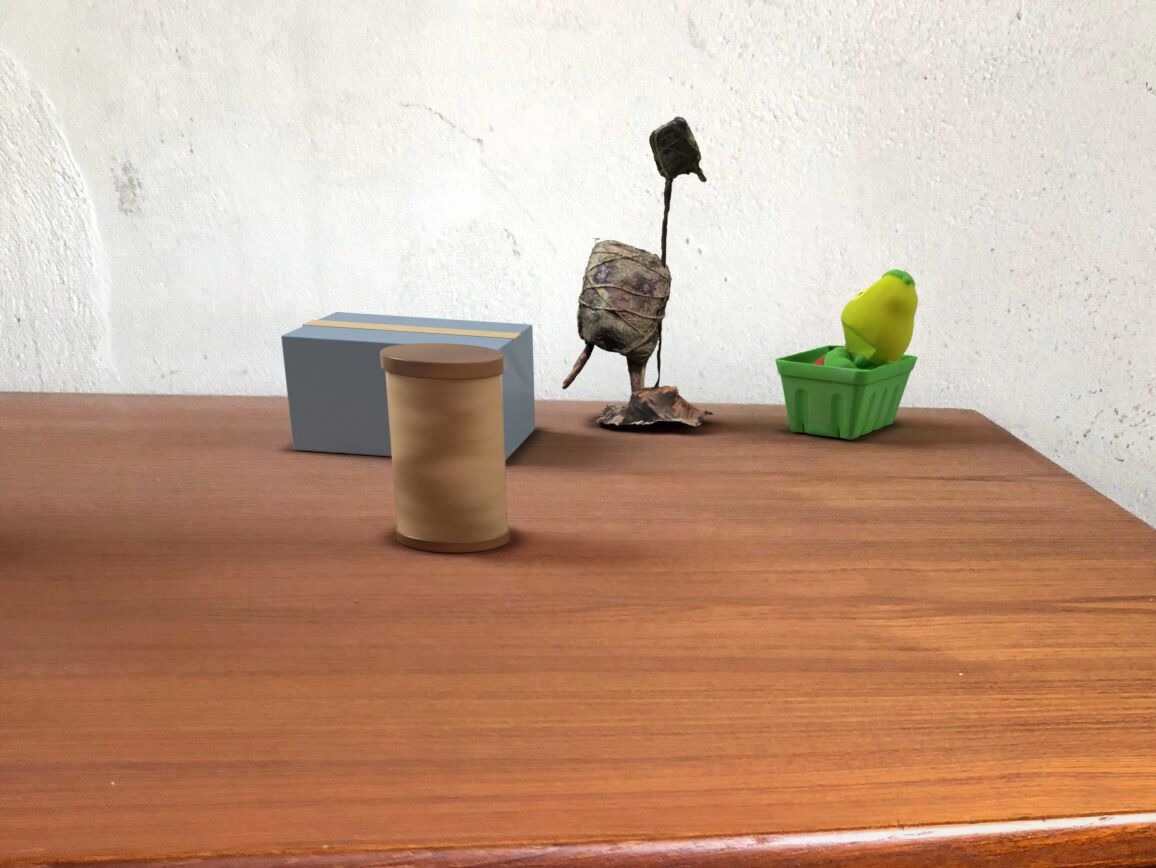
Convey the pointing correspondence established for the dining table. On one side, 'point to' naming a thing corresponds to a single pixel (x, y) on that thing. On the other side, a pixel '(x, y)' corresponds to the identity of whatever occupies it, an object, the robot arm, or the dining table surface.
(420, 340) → the blue box
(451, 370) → the tan lidded canister
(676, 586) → the dining table surface
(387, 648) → the dining table surface
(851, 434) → the fruit basket
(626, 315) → the brown bird sculpture
